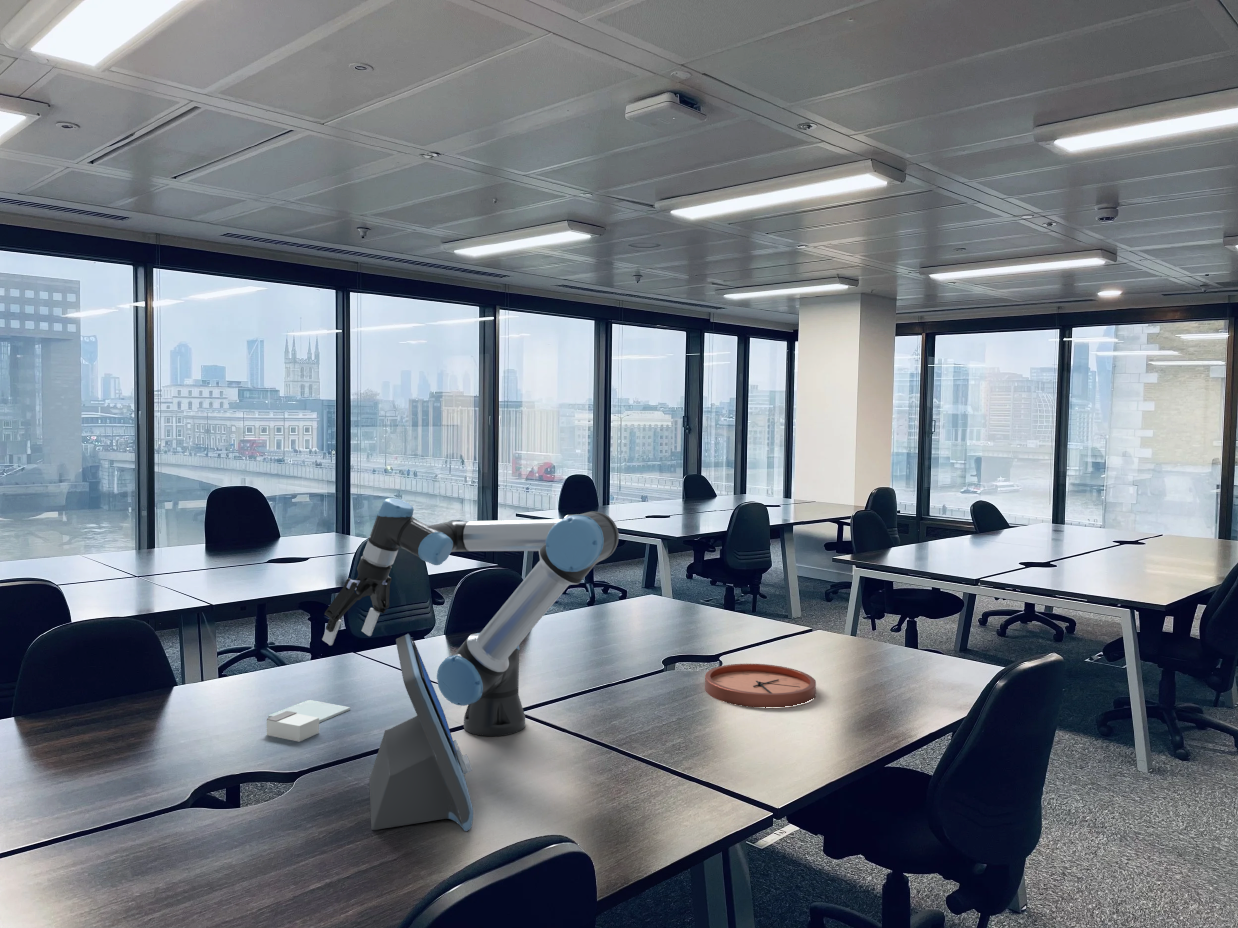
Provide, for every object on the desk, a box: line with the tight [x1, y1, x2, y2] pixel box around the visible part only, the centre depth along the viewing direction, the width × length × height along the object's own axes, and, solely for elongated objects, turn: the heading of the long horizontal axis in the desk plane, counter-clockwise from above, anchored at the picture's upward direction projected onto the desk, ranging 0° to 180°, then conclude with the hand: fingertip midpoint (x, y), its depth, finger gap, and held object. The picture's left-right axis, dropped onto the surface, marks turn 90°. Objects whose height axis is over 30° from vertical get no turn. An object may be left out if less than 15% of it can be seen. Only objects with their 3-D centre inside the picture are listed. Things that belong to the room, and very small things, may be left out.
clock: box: [704, 663, 817, 709], centre depth 247 cm, size 31×4×31 cm
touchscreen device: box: [368, 633, 474, 832], centre depth 171 cm, size 35×20×30 cm, turn 17°
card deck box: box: [266, 711, 320, 743], centre depth 206 cm, size 10×6×4 cm, turn 67°
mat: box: [267, 699, 351, 724], centre depth 221 cm, size 14×14×1 cm
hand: (347, 637), depth 211 cm, fingers open, 13 cm apart
